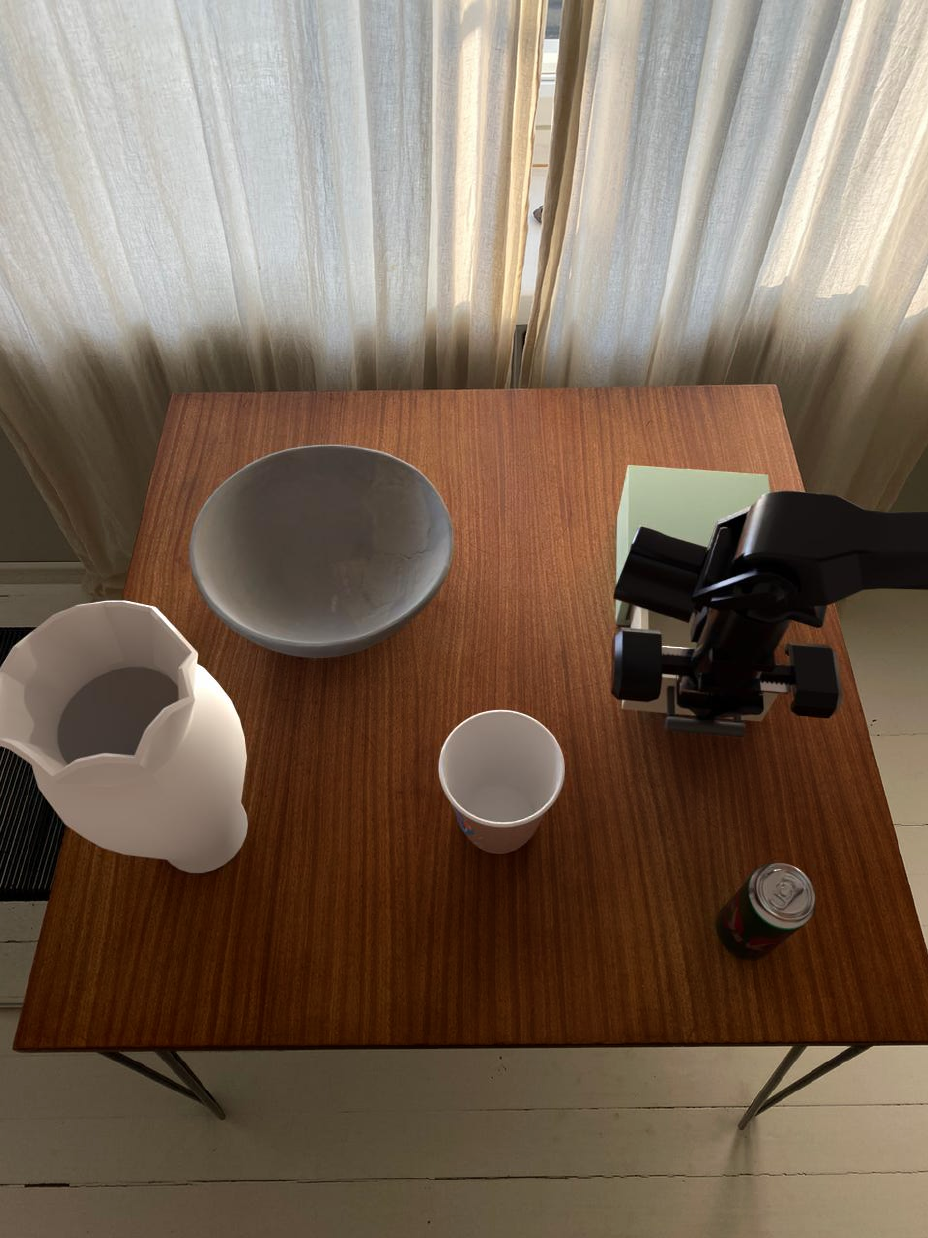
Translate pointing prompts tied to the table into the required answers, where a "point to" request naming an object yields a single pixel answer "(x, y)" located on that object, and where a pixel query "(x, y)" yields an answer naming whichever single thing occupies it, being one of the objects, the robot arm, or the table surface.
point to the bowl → (321, 549)
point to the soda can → (765, 911)
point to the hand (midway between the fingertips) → (701, 716)
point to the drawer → (675, 636)
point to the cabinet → (679, 507)
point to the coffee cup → (501, 777)
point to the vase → (128, 734)
